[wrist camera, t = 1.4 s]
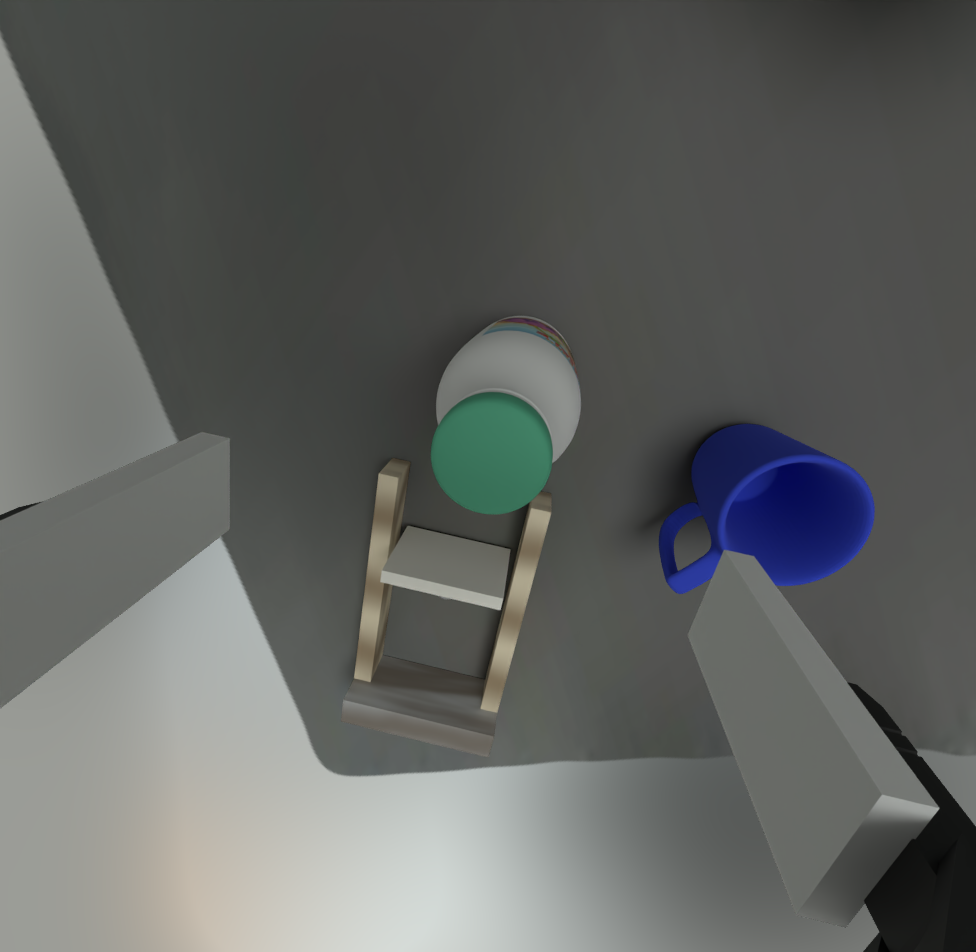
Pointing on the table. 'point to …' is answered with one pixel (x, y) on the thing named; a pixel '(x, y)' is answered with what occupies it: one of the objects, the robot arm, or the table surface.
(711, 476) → the mug
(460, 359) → the milk bottle
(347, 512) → the table surface
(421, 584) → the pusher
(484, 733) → the lane
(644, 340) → the table surface
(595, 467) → the table surface
